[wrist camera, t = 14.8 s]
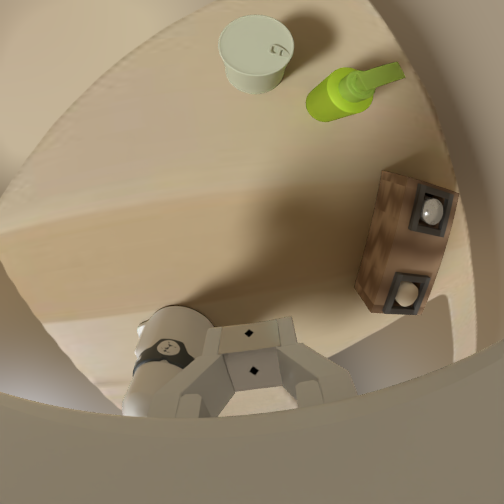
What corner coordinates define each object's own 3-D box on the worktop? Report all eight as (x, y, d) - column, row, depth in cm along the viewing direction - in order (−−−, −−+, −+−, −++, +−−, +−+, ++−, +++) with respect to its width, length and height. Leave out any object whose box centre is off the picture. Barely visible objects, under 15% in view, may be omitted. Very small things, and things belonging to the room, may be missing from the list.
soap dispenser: (352, 112, 40) (416, 94, 21) (316, 127, 41) (363, 114, 23) (335, 80, 38) (390, 43, 20) (299, 95, 39) (334, 59, 21)
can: (271, 102, 40) (278, 86, 29) (216, 83, 39) (204, 61, 27) (292, 55, 37) (306, 28, 26) (238, 36, 36) (235, 4, 24)
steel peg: (414, 214, 44) (439, 226, 37) (397, 210, 44) (420, 222, 36) (419, 192, 43) (445, 202, 35) (401, 187, 42) (427, 196, 35)
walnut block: (400, 291, 52) (424, 317, 42) (354, 287, 51) (372, 315, 42) (430, 184, 44) (462, 194, 35) (381, 170, 43) (411, 177, 34)
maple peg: (394, 285, 49) (413, 307, 41) (376, 284, 49) (394, 306, 41) (400, 266, 48) (421, 285, 40) (382, 264, 47) (402, 283, 40)
